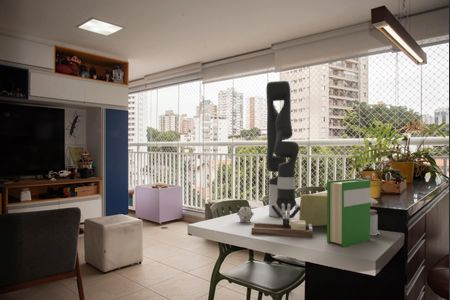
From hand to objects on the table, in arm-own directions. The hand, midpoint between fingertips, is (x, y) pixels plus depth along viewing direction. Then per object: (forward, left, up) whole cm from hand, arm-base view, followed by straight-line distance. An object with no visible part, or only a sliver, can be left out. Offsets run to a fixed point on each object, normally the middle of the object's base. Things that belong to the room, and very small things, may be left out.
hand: (285, 227), depth 137 cm
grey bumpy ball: (-17, -20, -3) cm, 27 cm away
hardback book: (+7, +25, -3) cm, 26 cm away
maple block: (0, +5, -1) cm, 5 cm away
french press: (-10, +35, -3) cm, 36 cm away
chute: (0, -2, -3) cm, 3 cm away
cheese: (-19, +16, -3) cm, 25 cm away
